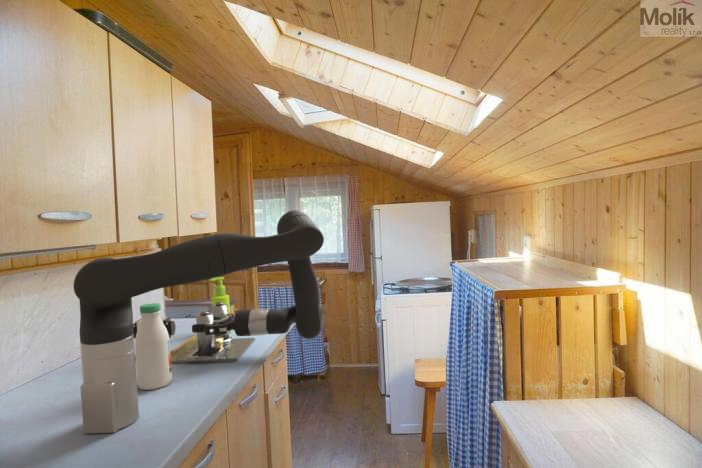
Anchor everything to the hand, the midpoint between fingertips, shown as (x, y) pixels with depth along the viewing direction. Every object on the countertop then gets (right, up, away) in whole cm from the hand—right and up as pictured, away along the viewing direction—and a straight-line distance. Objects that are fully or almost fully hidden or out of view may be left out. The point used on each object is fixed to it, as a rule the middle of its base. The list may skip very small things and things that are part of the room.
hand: (198, 324), depth 120 cm
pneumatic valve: (-16, -11, +6) cm, 20 cm away
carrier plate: (+2, -10, +7) cm, 12 cm away
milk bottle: (-4, -11, -18) cm, 22 cm away
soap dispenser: (-2, -9, +28) cm, 29 cm away
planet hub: (+2, -9, 0) cm, 9 cm away
